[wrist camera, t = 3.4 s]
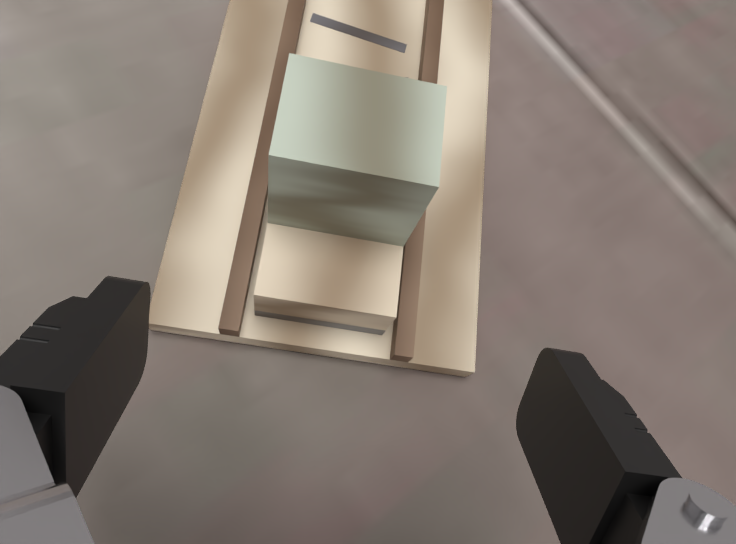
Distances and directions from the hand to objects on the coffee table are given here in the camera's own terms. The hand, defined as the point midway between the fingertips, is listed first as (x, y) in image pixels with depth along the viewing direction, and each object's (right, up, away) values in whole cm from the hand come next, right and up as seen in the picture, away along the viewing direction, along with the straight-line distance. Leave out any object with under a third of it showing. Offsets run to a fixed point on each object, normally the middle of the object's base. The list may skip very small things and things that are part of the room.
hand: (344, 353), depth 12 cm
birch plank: (-1, +10, +18) cm, 21 cm away
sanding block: (-1, +4, +15) cm, 15 cm away
